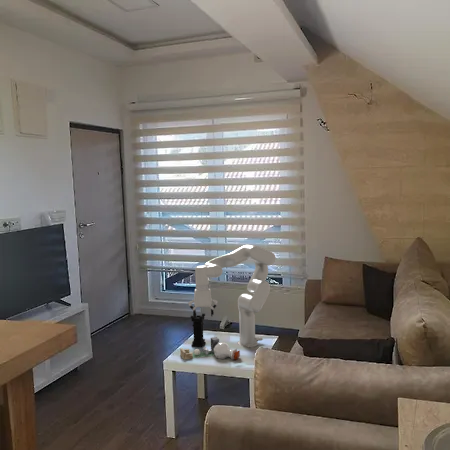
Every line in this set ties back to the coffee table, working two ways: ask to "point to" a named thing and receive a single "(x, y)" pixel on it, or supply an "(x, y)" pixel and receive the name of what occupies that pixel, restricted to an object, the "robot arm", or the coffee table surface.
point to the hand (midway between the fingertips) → (203, 316)
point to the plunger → (213, 342)
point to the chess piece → (198, 331)
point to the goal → (186, 354)
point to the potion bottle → (225, 351)
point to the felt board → (201, 355)
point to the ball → (196, 351)
